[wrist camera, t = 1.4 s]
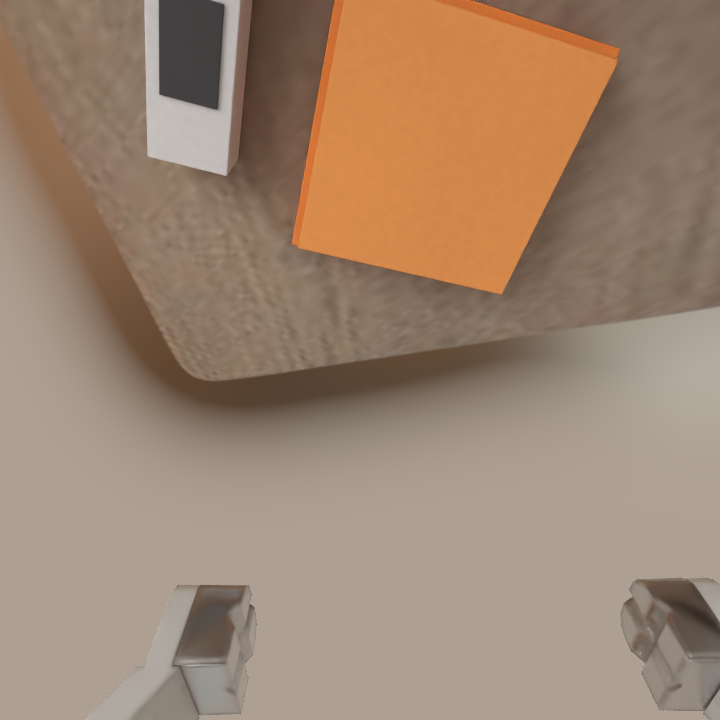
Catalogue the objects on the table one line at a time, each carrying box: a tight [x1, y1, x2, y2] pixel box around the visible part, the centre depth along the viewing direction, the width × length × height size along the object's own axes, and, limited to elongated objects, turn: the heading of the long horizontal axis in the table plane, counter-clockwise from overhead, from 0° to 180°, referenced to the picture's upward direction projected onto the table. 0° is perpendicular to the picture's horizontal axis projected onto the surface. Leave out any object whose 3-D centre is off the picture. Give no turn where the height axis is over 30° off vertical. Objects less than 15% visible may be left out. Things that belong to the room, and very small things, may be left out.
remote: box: [144, 0, 253, 176], centre depth 26 cm, size 14×5×4 cm, turn 166°
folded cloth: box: [292, 0, 620, 294], centre depth 31 cm, size 16×16×4 cm
